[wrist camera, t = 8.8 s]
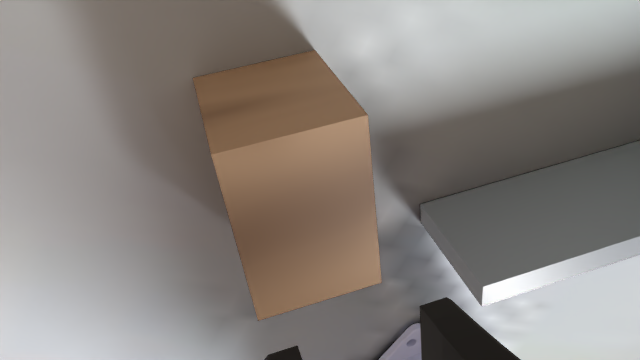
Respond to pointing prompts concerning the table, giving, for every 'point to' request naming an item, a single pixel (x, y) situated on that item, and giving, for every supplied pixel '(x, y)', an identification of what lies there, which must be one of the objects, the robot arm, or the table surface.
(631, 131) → the table surface
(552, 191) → the grey u-shaped wall
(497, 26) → the table surface
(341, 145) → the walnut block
